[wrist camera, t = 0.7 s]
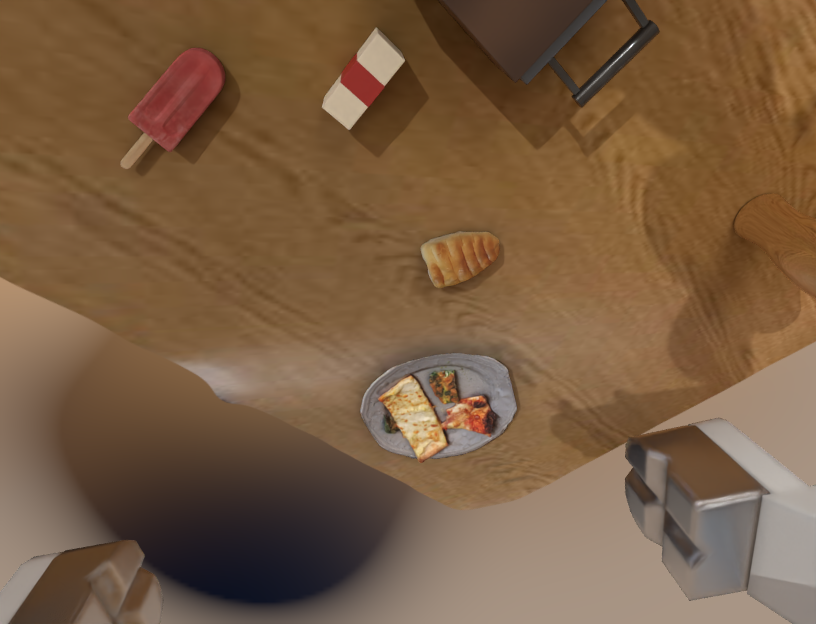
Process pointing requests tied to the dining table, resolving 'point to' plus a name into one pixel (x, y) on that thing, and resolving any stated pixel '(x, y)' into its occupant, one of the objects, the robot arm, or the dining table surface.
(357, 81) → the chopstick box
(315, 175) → the dining table surface
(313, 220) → the dining table surface
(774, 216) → the beer glass
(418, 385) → the food plate
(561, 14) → the cabinet
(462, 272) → the pastry
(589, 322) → the dining table surface
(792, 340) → the dining table surface
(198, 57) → the popsicle
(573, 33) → the drawer
